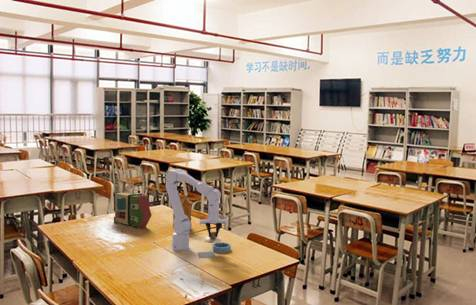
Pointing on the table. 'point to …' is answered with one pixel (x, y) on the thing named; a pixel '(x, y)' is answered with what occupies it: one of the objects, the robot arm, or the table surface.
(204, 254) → the mat
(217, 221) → the robot arm
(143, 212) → the model house
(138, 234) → the table surface
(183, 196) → the coffee package
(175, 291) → the table surface
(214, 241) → the lid
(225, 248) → the bowl
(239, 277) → the table surface
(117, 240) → the table surface
